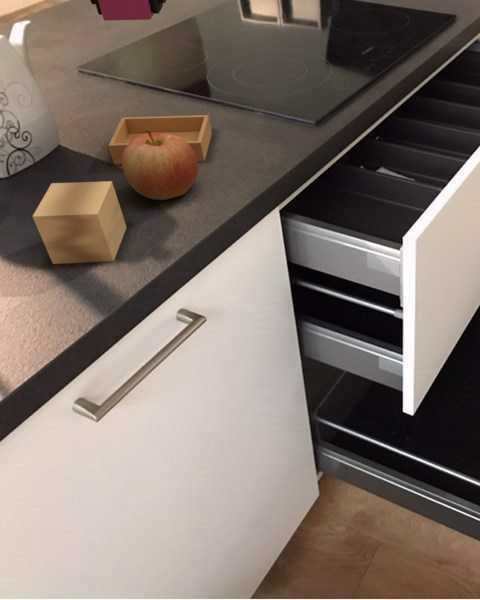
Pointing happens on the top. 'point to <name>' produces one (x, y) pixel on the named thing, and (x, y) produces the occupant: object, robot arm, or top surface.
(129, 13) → the pink block
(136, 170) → the apple
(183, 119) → the tray
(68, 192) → the birch block
